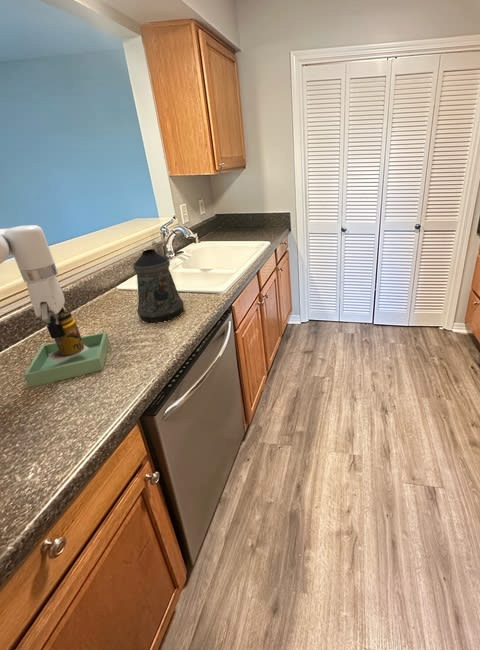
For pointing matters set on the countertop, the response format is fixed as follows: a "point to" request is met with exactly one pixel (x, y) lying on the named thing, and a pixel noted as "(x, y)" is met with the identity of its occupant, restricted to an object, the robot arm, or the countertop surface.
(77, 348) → the condiment
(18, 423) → the countertop surface
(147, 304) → the beer stein
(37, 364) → the tray
